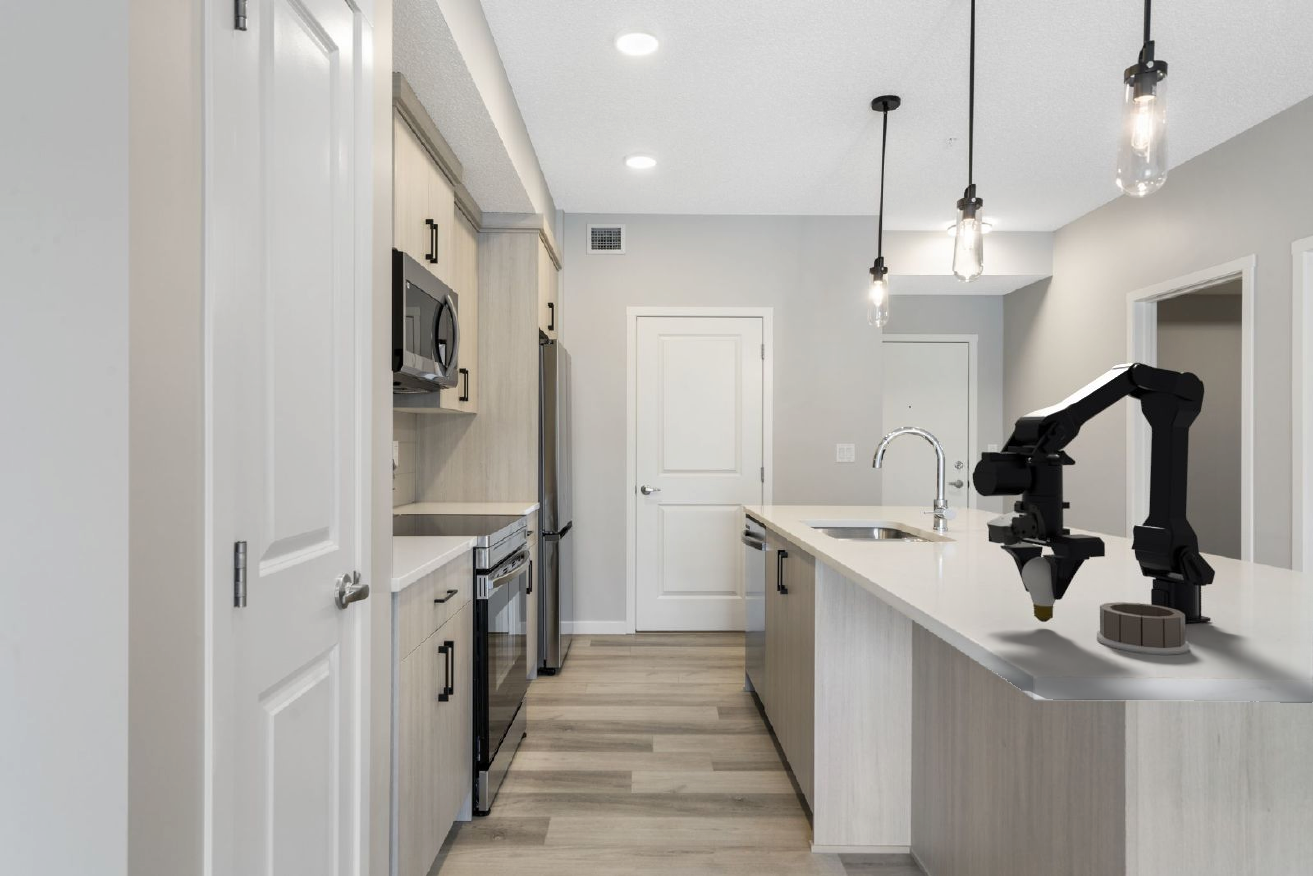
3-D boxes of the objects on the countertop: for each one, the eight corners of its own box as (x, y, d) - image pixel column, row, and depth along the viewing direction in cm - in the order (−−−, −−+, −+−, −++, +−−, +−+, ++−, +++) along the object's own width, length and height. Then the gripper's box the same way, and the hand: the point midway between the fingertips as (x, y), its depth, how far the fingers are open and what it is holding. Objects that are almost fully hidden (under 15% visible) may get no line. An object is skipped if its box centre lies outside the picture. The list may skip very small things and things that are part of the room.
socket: (1141, 631, 113) (1140, 600, 113) (1209, 651, 102) (1208, 616, 102) (1079, 636, 110) (1078, 603, 111) (1142, 657, 100) (1141, 621, 100)
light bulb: (1070, 627, 112) (1070, 560, 112) (1028, 625, 113) (1027, 559, 113) (1057, 617, 118) (1057, 554, 118) (1017, 616, 119) (1017, 553, 119)
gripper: (959, 492, 123) (960, 586, 123) (1040, 501, 105) (1041, 612, 105) (1018, 490, 125) (1019, 583, 125) (1107, 498, 107) (1108, 607, 107)
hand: (1043, 595), depth 116 cm, fingers closed on light bulb, 6 cm apart
